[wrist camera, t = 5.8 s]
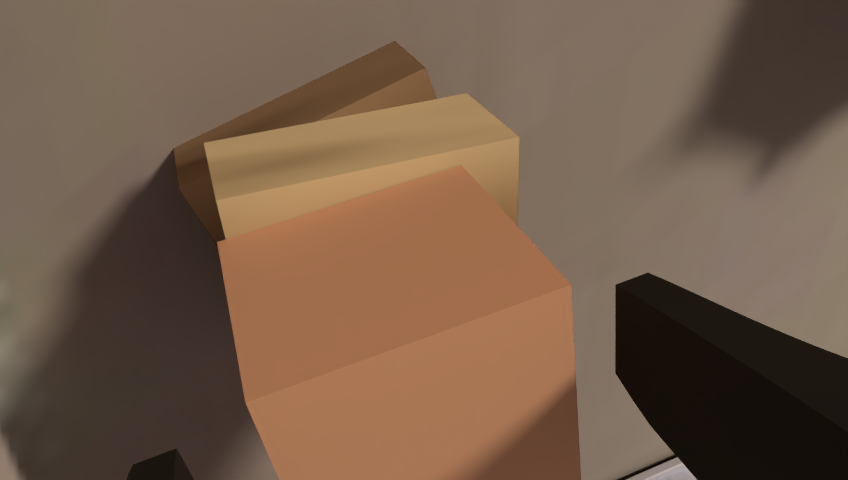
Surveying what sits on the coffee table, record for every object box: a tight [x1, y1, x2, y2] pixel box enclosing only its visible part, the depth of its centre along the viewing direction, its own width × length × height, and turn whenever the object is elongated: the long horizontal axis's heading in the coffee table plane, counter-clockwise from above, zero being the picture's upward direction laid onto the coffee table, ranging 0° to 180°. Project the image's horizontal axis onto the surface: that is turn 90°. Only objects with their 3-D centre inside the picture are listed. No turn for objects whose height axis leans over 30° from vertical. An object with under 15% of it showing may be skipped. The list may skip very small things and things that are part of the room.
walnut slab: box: [174, 41, 437, 246], centre depth 17 cm, size 6×6×2 cm
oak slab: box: [204, 93, 519, 239], centre depth 15 cm, size 6×6×2 cm
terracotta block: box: [217, 165, 581, 480], centre depth 12 cm, size 4×4×4 cm
